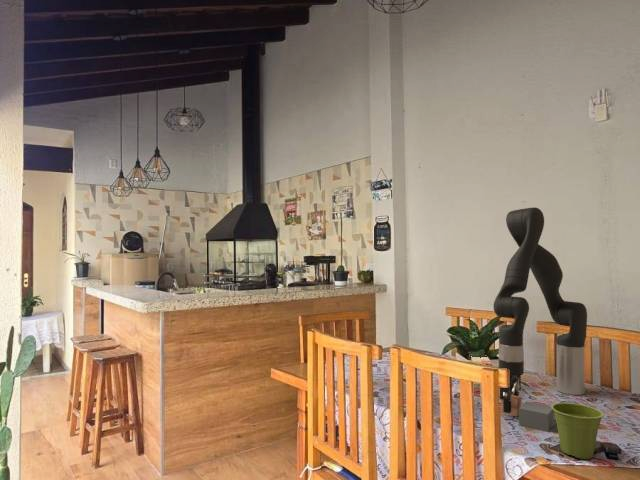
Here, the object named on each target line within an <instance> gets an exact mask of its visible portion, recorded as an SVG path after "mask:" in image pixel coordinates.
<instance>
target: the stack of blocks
mask: <svg viewBox="0 0 640 480" xmlns="http://www.w3.org/2000/svg"><path fill="white" fill-rule="evenodd" d="M471 360H472V362H477V363H483V364H486V365H490V366H492V367H493V363H492V361H491V360H490V358H489V357H488V356H487V357H481V358H480V357H472V356H471ZM473 397H479V398H480V384H474V396H473Z"/></svg>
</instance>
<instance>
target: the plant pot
mask: <svg viewBox="0 0 640 480" xmlns="http://www.w3.org/2000/svg"><path fill="white" fill-rule="evenodd" d="M550 406H551V408H552V409H553V410H554V419H555V421H556V427H557V432H558V433H557V434H558V440H559V445H560V450H562V451H563V452H565V453H567V454H569V455H572V456H571V457H573V456H575V457H577V458H580V459H579V460H590V459H592V458H593V457H594V453H595V448H596V442H597V437H598V430H599V427H600V425H601V421H602V420H601V419H602V418H604V413H603V412H602V411H601V410H599V409H597V408H595V407H592V406H588V405H585V404H580V403H574V402H573V403H571V402H558V403H557V402H556V403H554V404H551V405H550ZM562 451H561V452H562ZM563 452H562V453H563ZM575 457H574V458H575ZM577 458H576V459H577Z"/></svg>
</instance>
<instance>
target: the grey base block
mask: <svg viewBox="0 0 640 480" xmlns="http://www.w3.org/2000/svg"><path fill="white" fill-rule="evenodd" d="M551 406H552V405H546V404H541V403H536V402H530V401H525V402H524V403H523V404H521V407H520V408H519V415H518V425H519V426H521V427H522V426H523V427H525V428H530V429H533V430H538V431H544V432H549V431H550V430H551V429H552V427H553V426H555V415H554V410H553V409H552V408H551Z"/></svg>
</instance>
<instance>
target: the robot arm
mask: <svg viewBox="0 0 640 480" xmlns="http://www.w3.org/2000/svg"><path fill="white" fill-rule="evenodd" d="M505 222H506V223H505V224H506V227H507V230H508V232H509V233H510V235H511V238H513V240H514V241H515V243H516V245H517V246H518V247H519V248H518V249H517V250H516V252H515V253H514V254H513V256H512V257H511V258H510V259H509V261H508V263H507V266H506V270H505V275H504V281H503V284H502V285H501V288H500V289H499V292H498V293H497V295H496V297H495V299H494V301H493V311H494V313H495V315H496V316H497V317H499V318H505V319H512V320H513V319H514V321H513V323H512V324H505V325H502V326H500V327H499V346H498V369H499V368H507V369H509V370H510V387H508V388H501V387H500V400H501V399H502V400H503V411H504V412H506V413H511V400H512V395H515V396H519V395H520V392H521V390H522V375H524V374H525V373H524V372H525V370H524V369H525V360H524V359H525V357H524V356H525V352H524V330H525V326H526V325H525V324H526V321H527V318H528V315H529V311H530V304H529V302H528V301H527V298H525V297H521V296H513V295H515V294H518V293H523V292H525V291H527V286H528V281H529V276H530V271H531V273H532V275H533V277H534V279H535V281H536V283H537V285H538V287H539V289H540V291H541V293H542V295H543V297H544V300H545V302H546V305H547V309H548V311H549V314H550V316H551V319H552V320H553V322H554V323H555V324H557V325H559V326H564V327H569V329H568V330H569V331H568V332H567V333H565V334H561V335H557V336H556V391H558V392H560V393H562V394H566V395H570V396H571V395H574V396H581V395H585V394H586V392H585V391H586V386H585V385H586V380H585V379H586V377H585V376H586V375H585V373H586V369H585V367H586V360H585V359H586V357H585V356H586V354H585V353H586V352H585V348H586V347H585V342H586V339H587V326H588V325H587V324H588V312H587V311H588V310H587V307H586V305H585V304H584V303H582V302H578V301H577V302H575V301H568V300H564V299H563V298H562V296H561V293H560V291H559V290H560V286H561V285H562V281H563V277H564V275H563V271H562V268H561V266H560V263H559V261H558V259H557V258H556V256H555V255H554V254H553V253H552V252H550V251H549V250H547V249H546V248H544V247H543V246H541V244H539V242H540V239H541V236H542V235H543V234H542V233H543V230H544V227H545V216H544V212H543V211H542V210H541V209H540V208H539V207H525V208H519V209H514V210H510V211H509V212H508V213H507V215H506V217H505ZM506 394H507V396H505V395H506Z"/></svg>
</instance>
